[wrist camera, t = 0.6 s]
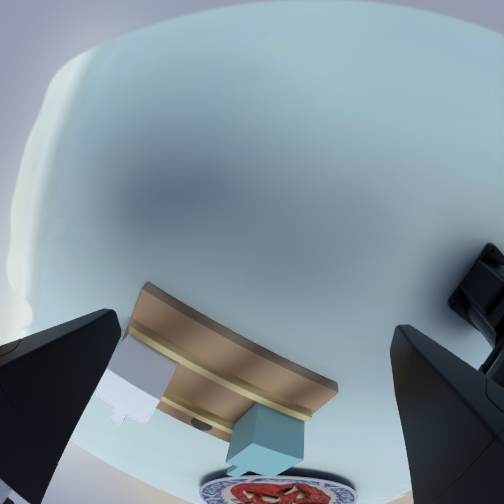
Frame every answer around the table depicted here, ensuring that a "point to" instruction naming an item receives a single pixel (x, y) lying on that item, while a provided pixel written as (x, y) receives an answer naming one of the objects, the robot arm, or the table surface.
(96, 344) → the robot arm
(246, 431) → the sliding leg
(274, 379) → the board
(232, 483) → the ceramic plate
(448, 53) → the table surface
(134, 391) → the fixed leg
